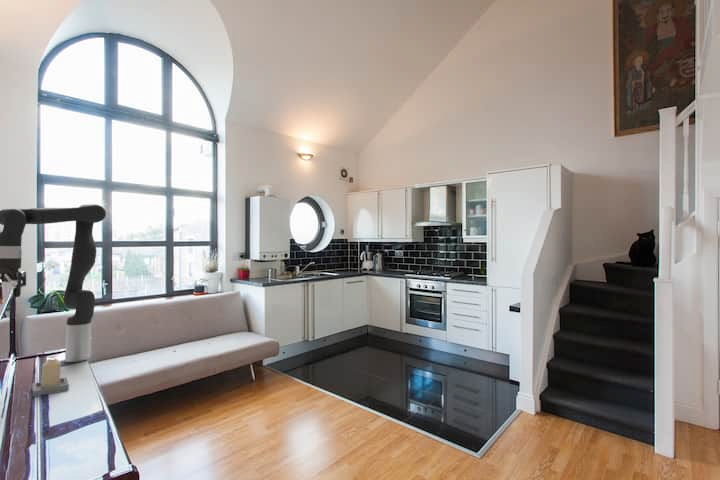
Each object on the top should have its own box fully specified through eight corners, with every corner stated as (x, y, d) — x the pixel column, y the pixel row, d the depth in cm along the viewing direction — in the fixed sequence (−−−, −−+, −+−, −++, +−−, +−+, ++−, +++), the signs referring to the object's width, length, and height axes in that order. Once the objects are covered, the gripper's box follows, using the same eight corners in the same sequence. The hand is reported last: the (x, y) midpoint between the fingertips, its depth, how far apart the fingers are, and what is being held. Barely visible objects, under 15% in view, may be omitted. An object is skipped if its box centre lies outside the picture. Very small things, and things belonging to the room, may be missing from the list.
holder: (32, 388, 135) (32, 383, 135) (66, 382, 142) (66, 377, 142) (32, 396, 128) (33, 391, 128) (68, 389, 135) (68, 384, 135)
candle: (37, 387, 134) (38, 361, 134) (53, 382, 139) (55, 357, 139) (47, 390, 132) (48, 363, 132) (63, 384, 137) (64, 358, 137)
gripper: (33, 257, 149) (31, 296, 149) (3, 256, 151) (1, 294, 150) (14, 257, 142) (12, 298, 141) (-17, 256, 143) (-19, 297, 143)
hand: (6, 296), depth 146 cm, fingers open, 8 cm apart
